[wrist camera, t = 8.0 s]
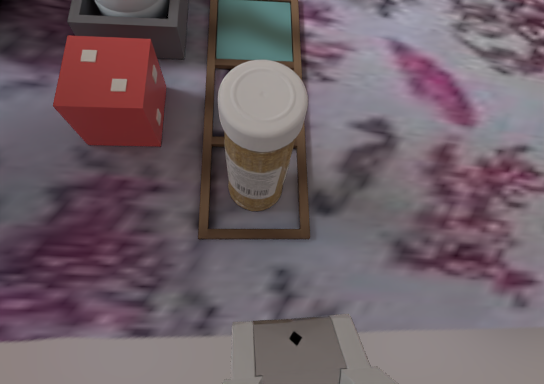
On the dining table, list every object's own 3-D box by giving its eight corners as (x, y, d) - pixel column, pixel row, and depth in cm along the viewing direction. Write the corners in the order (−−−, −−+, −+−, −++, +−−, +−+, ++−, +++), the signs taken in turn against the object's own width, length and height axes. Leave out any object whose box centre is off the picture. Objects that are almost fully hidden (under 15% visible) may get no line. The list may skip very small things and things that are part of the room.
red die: (162, 146, 31) (143, 107, 25) (88, 145, 30) (52, 105, 25) (167, 86, 33) (151, 38, 27) (98, 84, 32) (66, 34, 27)
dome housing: (184, 59, 34) (177, 26, 30) (87, 55, 33) (67, 22, 29) (189, -13, 37) (183, -50, 33) (100, -18, 36) (83, -56, 32)
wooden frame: (308, 239, 29) (310, 237, 29) (198, 239, 29) (198, 237, 28) (297, 0, 37) (297, -4, 37) (211, -5, 37) (210, -9, 36)
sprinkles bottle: (291, 178, 31) (325, 81, 18) (264, 223, 29) (282, 152, 17) (245, 152, 31) (247, 41, 19) (216, 195, 30) (198, 106, 17)
